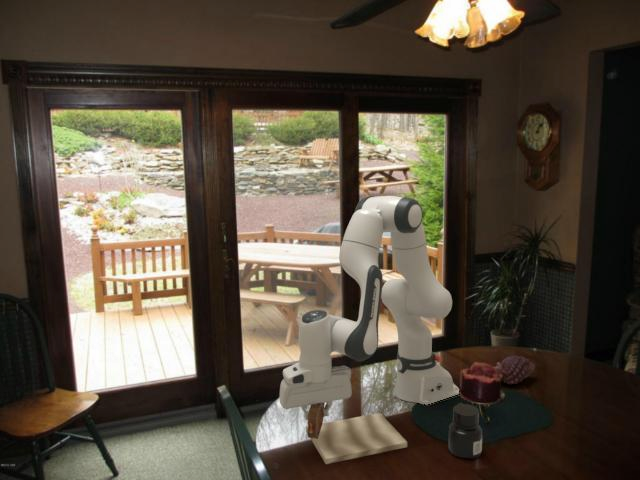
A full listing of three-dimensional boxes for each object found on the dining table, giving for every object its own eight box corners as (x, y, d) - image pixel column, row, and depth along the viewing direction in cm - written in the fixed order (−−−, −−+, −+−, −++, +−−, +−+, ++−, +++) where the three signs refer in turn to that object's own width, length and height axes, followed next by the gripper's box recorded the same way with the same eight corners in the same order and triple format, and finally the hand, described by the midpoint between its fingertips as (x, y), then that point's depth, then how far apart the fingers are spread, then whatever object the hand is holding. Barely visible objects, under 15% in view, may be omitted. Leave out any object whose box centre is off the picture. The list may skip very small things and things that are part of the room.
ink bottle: (484, 461, 138) (485, 419, 137) (449, 459, 140) (450, 417, 138) (479, 442, 148) (480, 402, 146) (447, 440, 149) (447, 400, 147)
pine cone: (525, 373, 193) (526, 347, 191) (544, 384, 184) (546, 357, 182) (484, 380, 187) (485, 354, 186) (502, 392, 178) (504, 364, 177)
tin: (315, 445, 139) (318, 415, 137) (304, 443, 139) (307, 413, 138) (324, 418, 153) (326, 391, 152) (313, 416, 154) (316, 389, 153)
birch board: (379, 417, 163) (379, 412, 163) (407, 447, 146) (407, 442, 146) (306, 431, 156) (306, 426, 155) (325, 464, 139) (325, 459, 138)
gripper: (346, 360, 150) (347, 405, 152) (277, 370, 144) (278, 418, 146) (355, 368, 144) (355, 415, 146) (282, 379, 138) (284, 428, 140)
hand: (316, 417), depth 146 cm, fingers closed on tin, 4 cm apart
